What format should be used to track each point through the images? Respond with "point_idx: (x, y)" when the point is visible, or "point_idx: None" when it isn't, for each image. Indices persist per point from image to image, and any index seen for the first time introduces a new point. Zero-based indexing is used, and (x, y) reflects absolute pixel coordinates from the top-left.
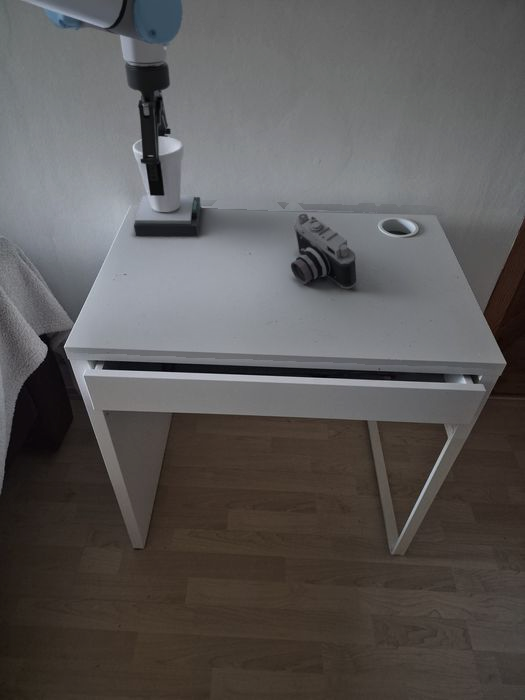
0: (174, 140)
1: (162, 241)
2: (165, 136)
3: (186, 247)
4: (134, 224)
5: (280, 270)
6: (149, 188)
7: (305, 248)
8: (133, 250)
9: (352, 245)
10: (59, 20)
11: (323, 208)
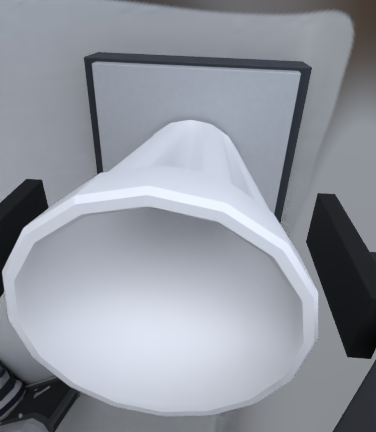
0: (248, 390)
1: (78, 138)
2: (354, 350)
3: (59, 198)
4: (90, 58)
5: (16, 342)
6: (11, 194)
7: (32, 399)
8: (15, 55)
9: (109, 426)
10: None
11: (233, 424)
